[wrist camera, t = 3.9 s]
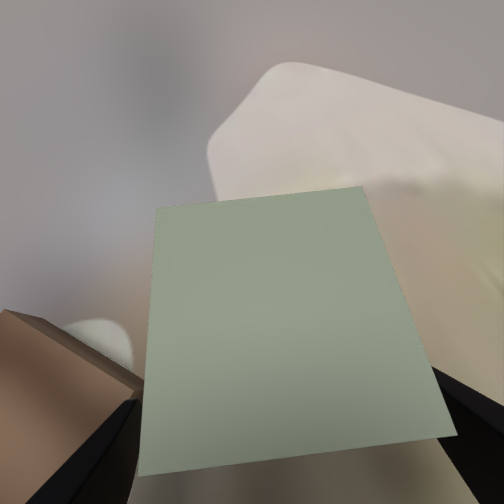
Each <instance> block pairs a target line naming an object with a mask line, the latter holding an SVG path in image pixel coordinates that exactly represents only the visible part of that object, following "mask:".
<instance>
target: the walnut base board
mask: <svg viewBox="0 0 504 504" xmlns="http://www.w3.org/2000/svg"><path fill="white" fill-rule="evenodd" d="M143 394H144V380H143V379H141V378H140V377H138V376H136V375H135V374H133V373H131V372H130V371H128V370H127V369H125V368H123V367H122V366H120V365H118V364H117V363H115V362H113V361H112V360H110V359H109V358H107V357H105V356H104V355H102V354H100V353H99V352H97V351H95V350H94V349H92V348H91V347H89V346H87V345H86V344H84V343H82V342H81V341H79V340H77V339H76V338H74V337H73V336H71V335H69V334H68V333H66V332H64V331H63V330H61V329H59V328H58V327H56V326H54V325H53V324H51V323H50V322H48V321H46V320H45V319H43V318H39V317H35V316H31V315H27V314H22V313H18V312H14V311H10V310H6V309H4V310H3V311H2V312H1V313H0V504H25V503H26V502H27V501H28V500H29V499H30V498H31V497H32V496H33V494H34V493H35V492H36V491H37V490H38V489H39V488H40V487H41V486H42V485H43V484H44V483H45V482H46V481H47V480H48V479H49V478H50V477H51V476H52V475H53V474H54V473H55V472H56V471H57V470H58V469H59V468H60V467H61V466H62V464H63V463H64V462H65V461H66V460H67V459H68V458H69V457H70V456H71V455H72V454H73V453H74V452H75V451H76V450H77V449H78V448H79V447H80V446H81V445H82V444H83V443H84V442H85V441H86V440H87V439H88V438H89V437H90V435H91V434H92V433H93V432H94V431H95V430H96V429H97V428H98V427H99V426H100V425H101V424H102V423H103V422H104V421H105V420H106V419H107V418H108V417H109V416H110V415H111V414H112V413H113V412H114V411H115V410H116V409H117V408H118V407H119V405H120V404H121V403H122V402H123V401H125V400H126V399H132V398H139V399H140V401H141V404H142V407H143Z"/></svg>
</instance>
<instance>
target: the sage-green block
mask: <svg viewBox="0 0 504 504" xmlns="http://www.w3.org/2000/svg"><path fill="white" fill-rule="evenodd" d="M455 435H457V432H456V429H455V427H454V424H453V422H452V419H451V416H450V414H449V411H448V409H447V406H446V403H445V401H444V398H443V396H442V393H441V391H440V388H439V385H438V383H437V380H436V378H435V375H434V372H433V370H432V367H431V365H430V362H429V359H428V357H427V354H426V352H425V349H424V346H423V344H422V341H421V339H420V336H419V334H418V331H417V328H416V326H415V323H414V321H413V318H412V315H411V313H410V310H409V308H408V305H407V302H406V300H405V297H404V295H403V292H402V289H401V287H400V284H399V282H398V279H397V277H396V274H395V271H394V269H393V266H392V264H391V261H390V258H389V256H388V253H387V251H386V248H385V245H384V243H383V240H382V238H381V235H380V232H379V230H378V227H377V225H376V222H375V219H374V217H373V214H372V212H371V209H370V207H369V204H368V201H367V199H366V196H365V194H364V191H363V188H362V186H361V187H351V188H342V189H332V190H323V191H313V192H304V193H295V194H285V195H276V196H266V197H257V198H248V199H238V200H229V201H219V202H211V203H201V204H191V205H182V206H174V207H173V206H172V207H163V208H157V209H156V224H155V237H154V252H153V266H152V281H151V295H150V309H149V323H148V338H147V353H146V367H145V380H144V394H143V408H142V423H141V437H140V451H139V465H138V477H142V476H149V475H157V474H165V473H172V472H180V471H188V470H195V469H203V468H211V467H218V466H226V465H233V464H241V463H249V462H256V461H264V460H272V459H279V458H287V457H295V456H302V455H310V454H318V453H325V452H333V451H341V450H348V449H356V448H364V447H371V446H379V445H387V444H394V443H402V442H410V441H417V440H425V439H432V438H440V437H448V436H455Z"/></svg>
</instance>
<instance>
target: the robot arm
mask: <svg viewBox="0 0 504 504" xmlns="http://www.w3.org/2000/svg"><path fill="white" fill-rule="evenodd" d="M431 367H432V366H431ZM432 370H433V372H434V375H435V378H436V380H437V383H438V385H439V388H440V391H441V393H442V396H443V398H444V401H445V403H446V406H447V409H448V411H449V414H450V416H451V419H452V422H453V424H454V427H455V429H456V432H457V435H455V436H448V437H440V438H437V439H438V441H439V443H440V444H441V446H442V448H443V449H444V451H445V452H446V454H447V455H448V457H449V458H450V460H451V461H452V463H453V464H454V466H455V467H456V469H457V470H458V472H459V473H460V475H461V477H462V478H463V480H464V481H465V483H466V484H467V486H468V487H469V489H470V490H471V492H472V493H473V495H474V496H475V498H476V499H477V501H478V502H479V504H504V406H502V405H500V404H499V403H497V402H495V401H493V400H492V399H490V398H488V397H486V396H484V395H483V394H481V393H479V392H477V391H475V390H474V389H472V388H470V387H468V386H466V385H465V384H463V383H461V382H459V381H457V380H456V379H454V378H452V377H450V376H448V375H447V374H445V373H443V372H441V371H439V370H438V369H436V368H434V367H432ZM142 408H143V407H142V404H141V401H140V399H139V398H132V399H126V400H125V401H123V402H122V403H121V404H120V405H119V407H118V408H117V409H116V410H115V411H114V412H113V413H112V414H111V415H110V416H109V417H108V418H107V419H106V420H105V421H104V422H103V423H102V424H101V425H100V426H99V427H98V428H97V429H96V430H95V431H94V432H93V433H92V434H91V435H90V437H89V438H88V439H87V440H86V441H85V442H84V443H83V444H82V445H81V446H80V447H79V448H78V449H77V450H76V451H75V452H74V453H73V454H72V455H71V456H70V457H69V458H68V459H67V460H66V461H65V462H64V463H63V464H62V466H61V467H60V468H59V469H58V470H57V471H56V472H55V473H54V474H53V475H52V476H51V477H50V478H49V479H48V480H47V481H46V482H45V483H44V484H43V485H42V486H41V487H40V488H39V489H38V490H37V491H36V492H35V493H34V494H33V496H32V497H31V498H30V499H29V500H28V501H27V502H26V503H25V504H127V501H128V497H129V494H130V491H131V487H132V483H133V480H134V475H135V471H136V466H137V461H138V457H139V451H140V437H141V423H142Z"/></svg>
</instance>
